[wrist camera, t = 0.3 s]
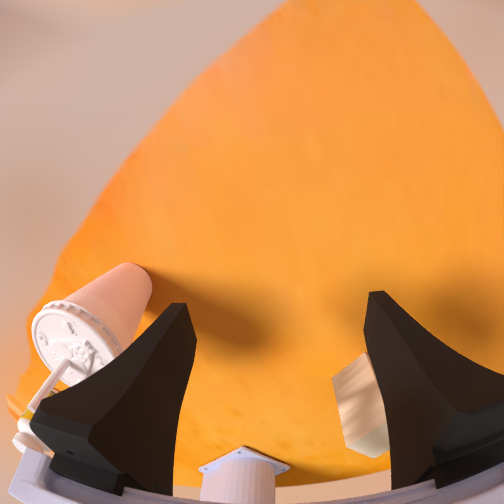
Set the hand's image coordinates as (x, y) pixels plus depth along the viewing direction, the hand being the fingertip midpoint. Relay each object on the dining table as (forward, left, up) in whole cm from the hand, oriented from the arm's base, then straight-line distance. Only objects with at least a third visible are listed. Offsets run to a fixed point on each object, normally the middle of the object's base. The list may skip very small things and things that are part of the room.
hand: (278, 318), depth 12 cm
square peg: (-4, -15, -10) cm, 19 cm away
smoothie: (-10, +6, -11) cm, 16 cm away
